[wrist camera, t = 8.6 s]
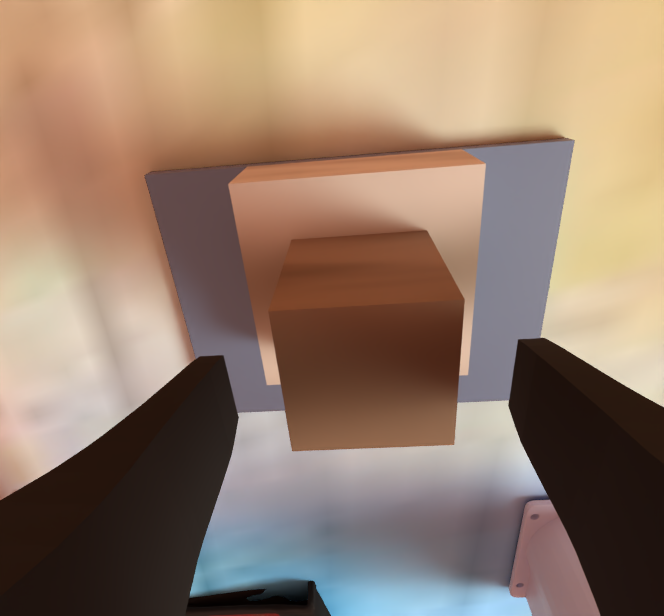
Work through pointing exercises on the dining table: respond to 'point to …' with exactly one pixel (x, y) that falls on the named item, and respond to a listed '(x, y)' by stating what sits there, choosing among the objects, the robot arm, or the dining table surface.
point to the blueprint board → (496, 279)
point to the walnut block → (367, 342)
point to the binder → (256, 605)
